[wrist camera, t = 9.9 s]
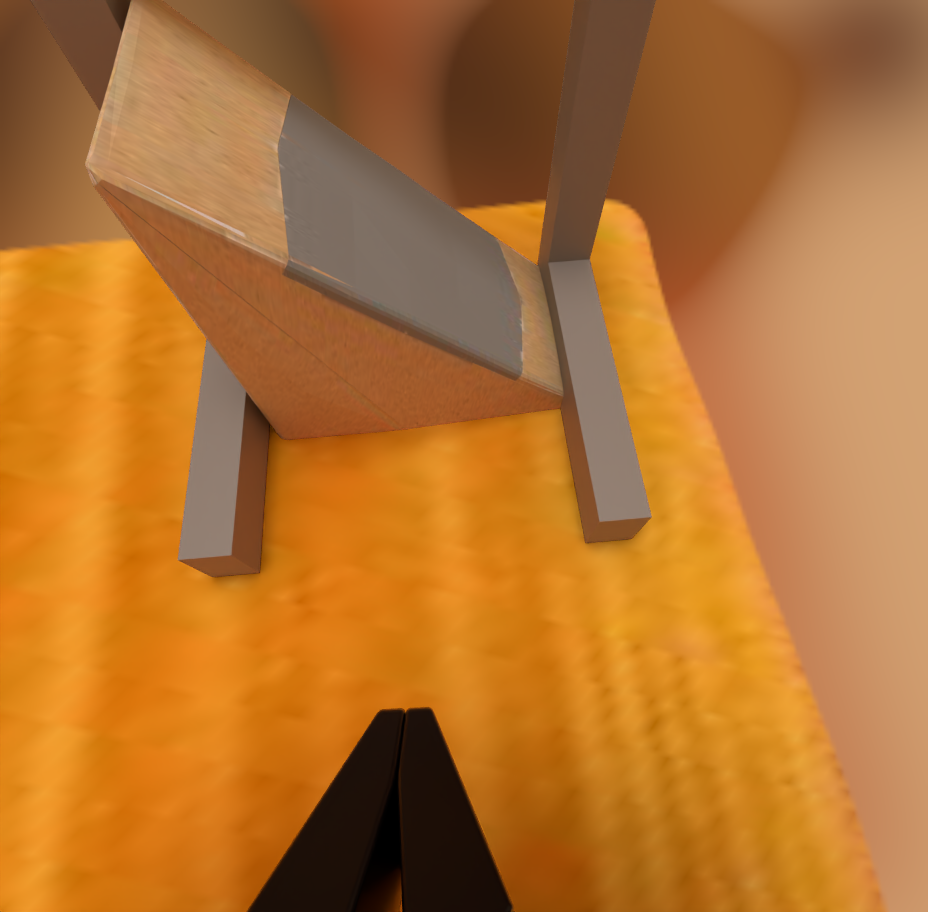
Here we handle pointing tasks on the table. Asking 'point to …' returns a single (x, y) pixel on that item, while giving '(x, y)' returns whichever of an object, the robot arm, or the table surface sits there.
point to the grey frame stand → (560, 262)
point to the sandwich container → (311, 249)
